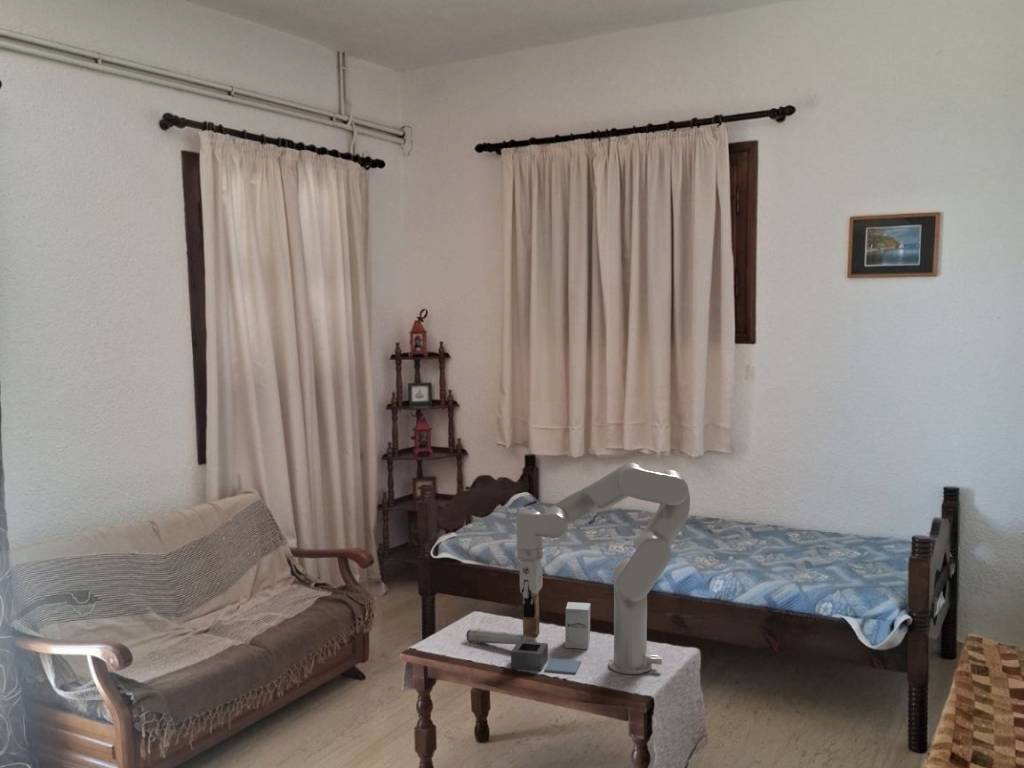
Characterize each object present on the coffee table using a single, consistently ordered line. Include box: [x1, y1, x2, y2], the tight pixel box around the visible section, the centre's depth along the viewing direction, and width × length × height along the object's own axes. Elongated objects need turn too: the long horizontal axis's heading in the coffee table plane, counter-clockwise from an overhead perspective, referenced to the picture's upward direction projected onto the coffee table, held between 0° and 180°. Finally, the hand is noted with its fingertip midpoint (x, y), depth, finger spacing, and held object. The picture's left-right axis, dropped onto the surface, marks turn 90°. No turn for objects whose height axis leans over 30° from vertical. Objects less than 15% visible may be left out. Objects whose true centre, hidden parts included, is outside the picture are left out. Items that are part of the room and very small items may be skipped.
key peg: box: [521, 591, 540, 639], centre depth 257 cm, size 5×5×13 cm
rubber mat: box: [544, 657, 582, 675], centre depth 255 cm, size 9×9×1 cm
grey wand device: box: [465, 628, 540, 645], centre depth 271 cm, size 5×7×25 cm
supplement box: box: [564, 601, 592, 650], centre depth 273 cm, size 7×7×13 cm
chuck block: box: [510, 641, 549, 672], centre depth 258 cm, size 9×9×5 cm
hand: (531, 613), depth 257 cm, fingers closed on key peg, 4 cm apart
